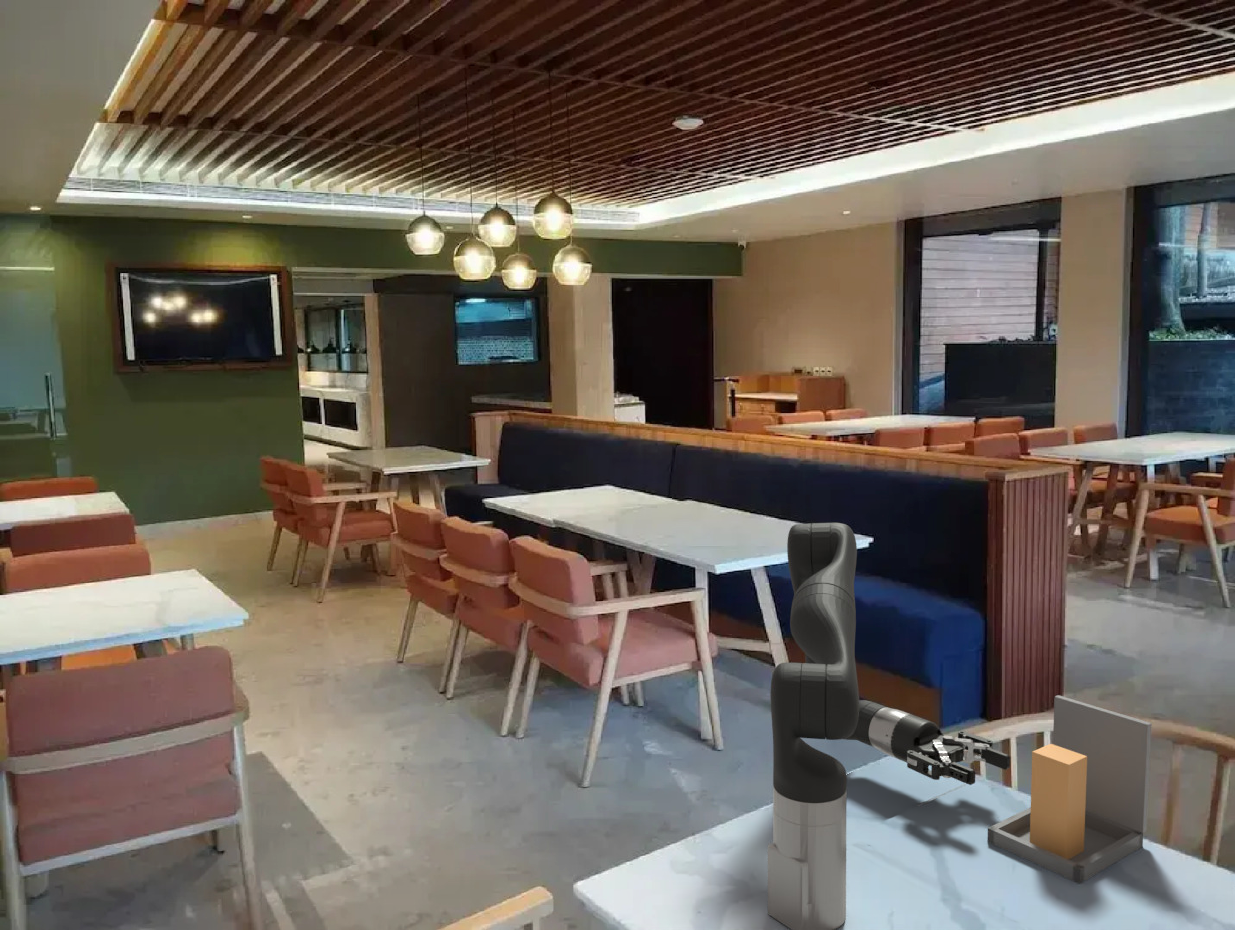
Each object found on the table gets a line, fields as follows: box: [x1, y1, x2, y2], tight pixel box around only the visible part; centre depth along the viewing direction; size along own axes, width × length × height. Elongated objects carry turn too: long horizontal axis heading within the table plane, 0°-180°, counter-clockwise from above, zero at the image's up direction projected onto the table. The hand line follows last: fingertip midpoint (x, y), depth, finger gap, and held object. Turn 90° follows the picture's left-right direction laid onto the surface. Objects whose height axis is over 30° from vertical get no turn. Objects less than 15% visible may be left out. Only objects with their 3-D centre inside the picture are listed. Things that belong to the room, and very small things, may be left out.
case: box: [987, 694, 1153, 884], centre depth 141 cm, size 17×14×19 cm
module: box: [1030, 743, 1087, 860], centre depth 140 cm, size 4×6×14 cm
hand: (991, 770), depth 149 cm, fingers open, 8 cm apart
